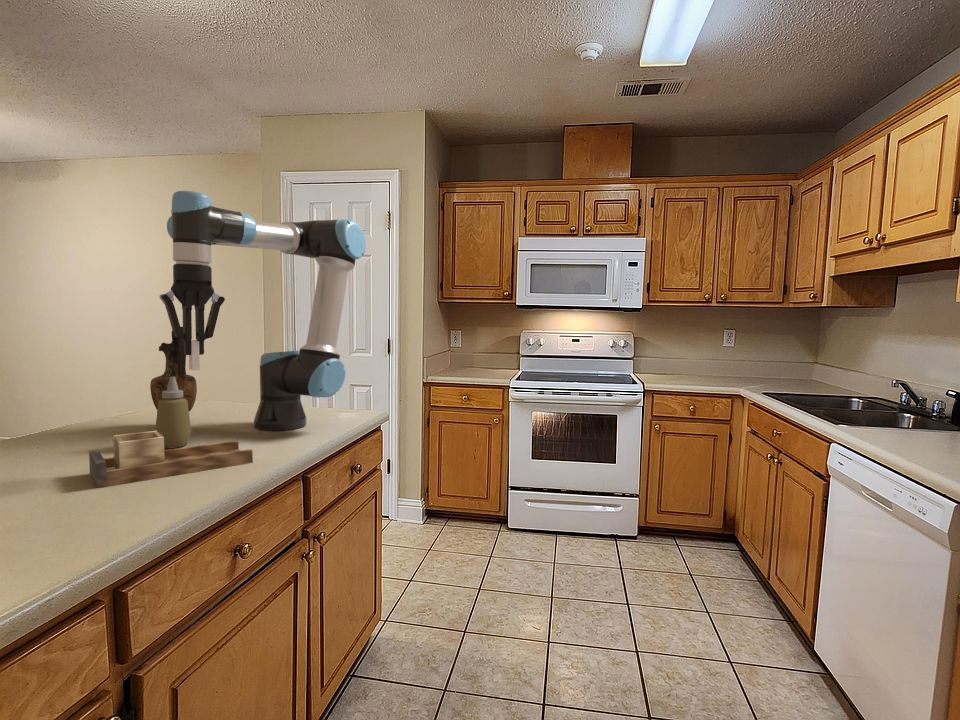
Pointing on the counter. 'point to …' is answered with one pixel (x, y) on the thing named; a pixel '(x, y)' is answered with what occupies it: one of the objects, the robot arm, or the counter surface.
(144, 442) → the crate
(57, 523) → the counter surface
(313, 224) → the robot arm
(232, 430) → the counter surface
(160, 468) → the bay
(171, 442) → the squeeze bottle
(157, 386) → the vase
